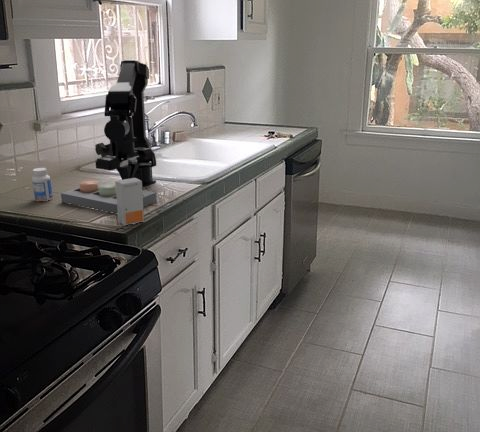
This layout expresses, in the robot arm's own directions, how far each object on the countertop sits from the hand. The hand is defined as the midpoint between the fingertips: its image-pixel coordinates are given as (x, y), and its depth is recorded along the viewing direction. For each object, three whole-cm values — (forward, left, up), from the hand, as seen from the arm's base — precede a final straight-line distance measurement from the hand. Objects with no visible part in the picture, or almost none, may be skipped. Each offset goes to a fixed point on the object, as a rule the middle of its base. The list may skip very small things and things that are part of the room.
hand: (127, 186), depth 158 cm
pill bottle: (+8, -28, -6) cm, 30 cm away
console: (0, -8, -6) cm, 10 cm away
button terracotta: (0, -16, -4) cm, 17 cm away
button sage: (0, -8, -4) cm, 9 cm away
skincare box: (+11, +11, -6) cm, 16 cm away
